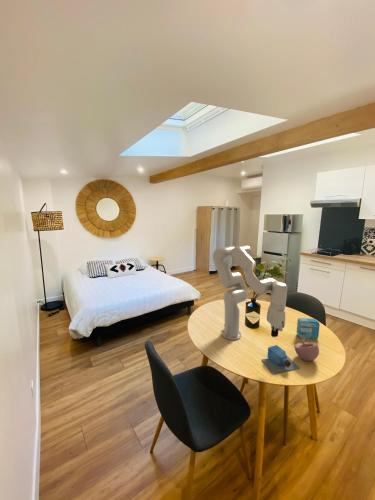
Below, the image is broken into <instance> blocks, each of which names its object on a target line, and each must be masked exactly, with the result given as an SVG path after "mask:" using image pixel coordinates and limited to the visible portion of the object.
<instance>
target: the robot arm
mask: <svg viewBox="0 0 375 500" xmlns="http://www.w3.org/2000/svg"><path fill="white" fill-rule="evenodd" d="M252 256H253V250H252V248H251V247H250V246H249V245H246V244H245V245H228V246H221V247H218V248H216V249H215V250H214V251H213V254H212V261H213V264H214V266H215V268H216V271H217V274H218V277H219V281H220V283H221V284H220V285H221V286H222V287H223V288H224V289H229V290H226V292H224V294H223V303H224V325H223V326H224V328H223V329H224V330H223V329H222V331H221V335H222V337H223V338H224V339H227V340H231V341H235V340H236V341H237V340H239V339H241V337H242V333H241V332H240V309H239V305H238V304H240V303H242V302H245V301H246V300H247V299H248V298H249V292H248V289H247V285H248V286H249V288H250V289H251V290H252V291H253V292H254V293H256V294H257V295H265V294H267V293H271V294H270V303H269V306H268V307H267V308H268V309H267V313H266V321H267V323H268V324H270V328H271V333H270V336H271V337H272V338H277V337H279V332H284V331H283V330H284V329H283V328H285V325H286V304H287V303H286V302H287V294H288V285H287V284H286V283H285V282H281V281H278V280H277V279H274V278H272V277H266V278H262V279H259V278H258V277H257V276H256V274H255V273H254V269H255V268H256V266H257V263H256V261H255V260H254V259H253V258H252ZM231 259H233V260H234V262H236V264H237V265H238V266H239V267H240V269H242V271H243V272H244V273H243V274H244V276H243V275H242V274H241V273H240V272H238V271H232V270H231V266H230V264H229V263H227V260H231ZM244 279H245V280H244ZM245 282H246V283H245ZM246 284H247V285H246ZM231 288H233V289H231Z"/></svg>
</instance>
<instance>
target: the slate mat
mask: <svg viewBox="0 0 375 500" xmlns="http://www.w3.org/2000/svg"><path fill="white" fill-rule="evenodd" d="M287 359H288V360H289V362H291V365H290V366H289V367H286V366H285V365H283V364H282V365H277V364H274V363H273V362H272V361H271V360H270V359H269V358H268V357H267V358H263V359H261V360H260V361H261V362H262V363H263V364H264V366H265V367H266V368H267V369H268V370H269V371H270V372H271V373H272V375H276V374H280V373H285V372H291V371H296V370H300V369H301V367H300V366H299V365H298V364H297V363H296V362H294V360H292V359H291V358H290V357H289V356H288V355H287Z"/></svg>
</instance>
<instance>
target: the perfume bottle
mask: <svg viewBox="0 0 375 500" xmlns="http://www.w3.org/2000/svg"><path fill="white" fill-rule="evenodd" d="M287 356H288V355H287V353H286V351H285V350H284V349H283V348H281V347H280V346H279V345H277V344H275V345H273V346H269V347H267V358H269V359H270V360H271V361H272V362H273V363H274V364H277V365H282V364H283V365H285V366H286V367H289V366H290V365H291V362H289V360H288V359H287Z"/></svg>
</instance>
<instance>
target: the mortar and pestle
mask: <svg viewBox="0 0 375 500" xmlns="http://www.w3.org/2000/svg"><path fill="white" fill-rule="evenodd" d="M306 339H307V338H303V339H302V340H301V342H300V343H296V344H295V345H294V351H295V352H296V355H297V356H298V357H299V358H300V359H301V360H304V361H307V362H310V361H315V360H316V359H317V358H318V356H320V355H319V354H320V350H319V349H320V348H319V345H318V344H317V343H316V342H311V341H310V342H309V341H307V342H306Z"/></svg>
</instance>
